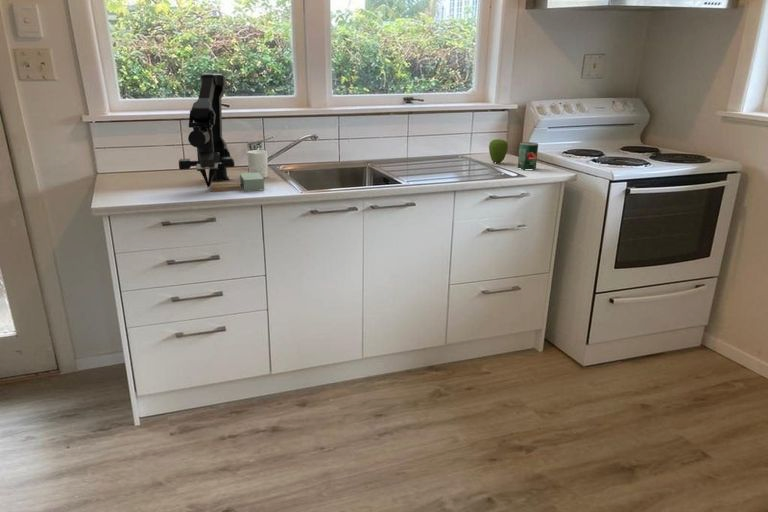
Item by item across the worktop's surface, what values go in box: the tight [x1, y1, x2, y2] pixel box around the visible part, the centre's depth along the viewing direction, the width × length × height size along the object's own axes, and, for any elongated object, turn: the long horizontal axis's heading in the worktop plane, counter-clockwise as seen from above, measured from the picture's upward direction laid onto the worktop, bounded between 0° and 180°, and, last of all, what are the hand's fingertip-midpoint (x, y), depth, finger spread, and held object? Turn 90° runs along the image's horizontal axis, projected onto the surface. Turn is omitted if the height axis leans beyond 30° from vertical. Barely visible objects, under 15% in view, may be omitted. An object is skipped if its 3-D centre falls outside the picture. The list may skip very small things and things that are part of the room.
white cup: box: [246, 149, 269, 179], centre depth 232 cm, size 8×8×10 cm
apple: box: [488, 138, 509, 164], centre depth 266 cm, size 9×8×12 cm
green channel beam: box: [239, 172, 265, 192], centre depth 215 cm, size 12×7×4 cm, turn 20°
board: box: [210, 181, 242, 192], centre depth 212 cm, size 7×10×2 cm
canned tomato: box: [517, 141, 539, 170], centre depth 255 cm, size 8×8×11 cm
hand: (208, 186), depth 210 cm, fingers closed
